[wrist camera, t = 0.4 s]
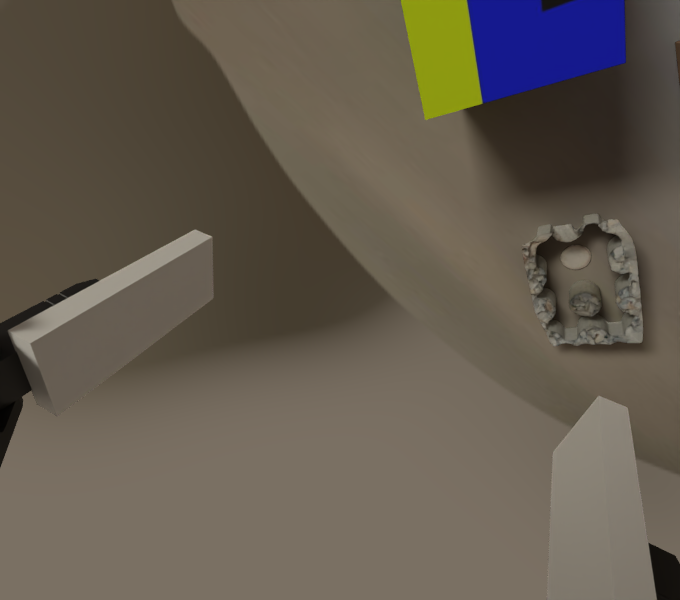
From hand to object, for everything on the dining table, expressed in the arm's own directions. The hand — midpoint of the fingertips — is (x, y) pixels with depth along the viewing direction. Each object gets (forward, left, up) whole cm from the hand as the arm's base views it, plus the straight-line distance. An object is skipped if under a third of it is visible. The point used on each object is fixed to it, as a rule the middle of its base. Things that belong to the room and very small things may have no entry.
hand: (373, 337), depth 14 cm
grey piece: (+5, +12, -27) cm, 30 cm away
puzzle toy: (-10, -3, -26) cm, 28 cm away
